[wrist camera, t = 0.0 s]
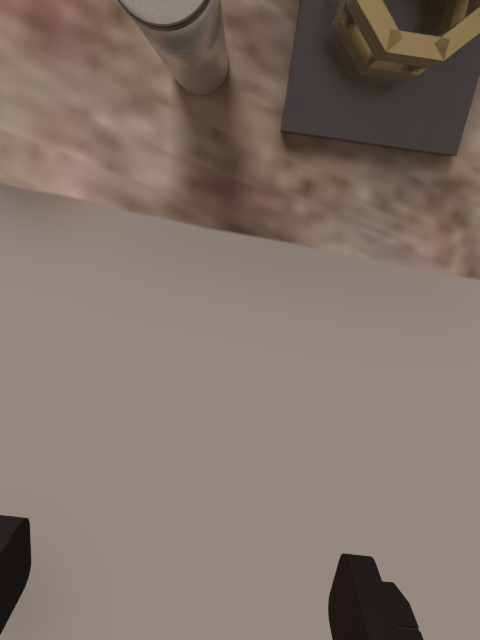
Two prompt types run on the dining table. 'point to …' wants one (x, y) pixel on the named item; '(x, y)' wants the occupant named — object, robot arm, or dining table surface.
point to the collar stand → (384, 72)
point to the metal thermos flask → (185, 39)
